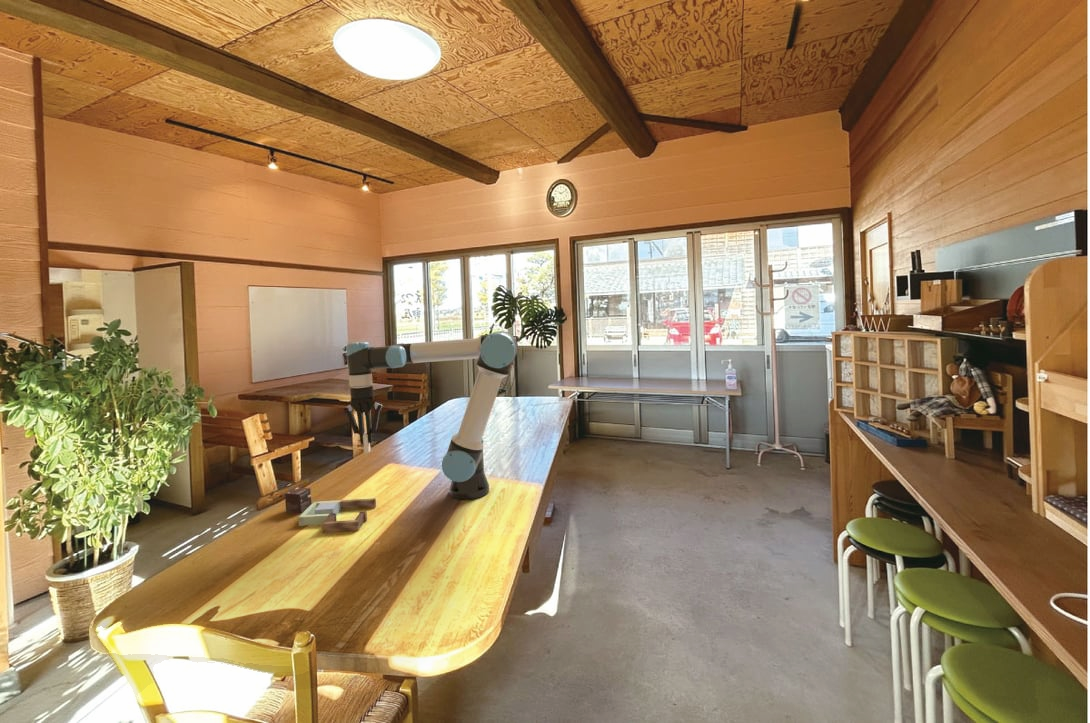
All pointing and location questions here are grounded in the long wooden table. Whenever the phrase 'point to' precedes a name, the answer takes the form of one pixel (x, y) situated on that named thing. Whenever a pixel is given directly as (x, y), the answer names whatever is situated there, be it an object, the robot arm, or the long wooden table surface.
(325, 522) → the open corridor walls
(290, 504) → the box
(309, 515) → the bay
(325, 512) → the grey square block
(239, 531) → the long wooden table surface
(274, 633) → the long wooden table surface
